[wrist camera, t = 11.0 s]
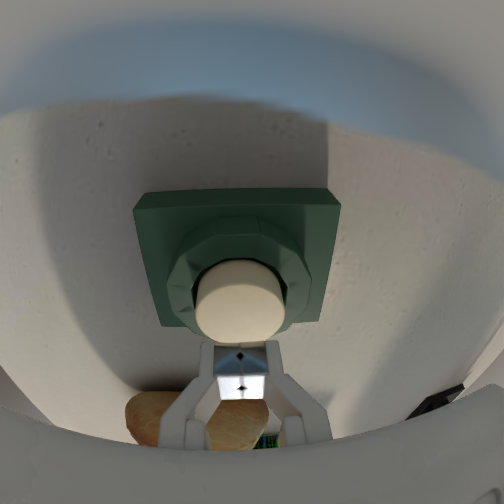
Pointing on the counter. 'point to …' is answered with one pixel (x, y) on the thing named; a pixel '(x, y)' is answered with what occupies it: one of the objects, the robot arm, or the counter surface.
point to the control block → (237, 244)
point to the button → (239, 302)
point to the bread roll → (219, 425)
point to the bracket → (437, 401)
